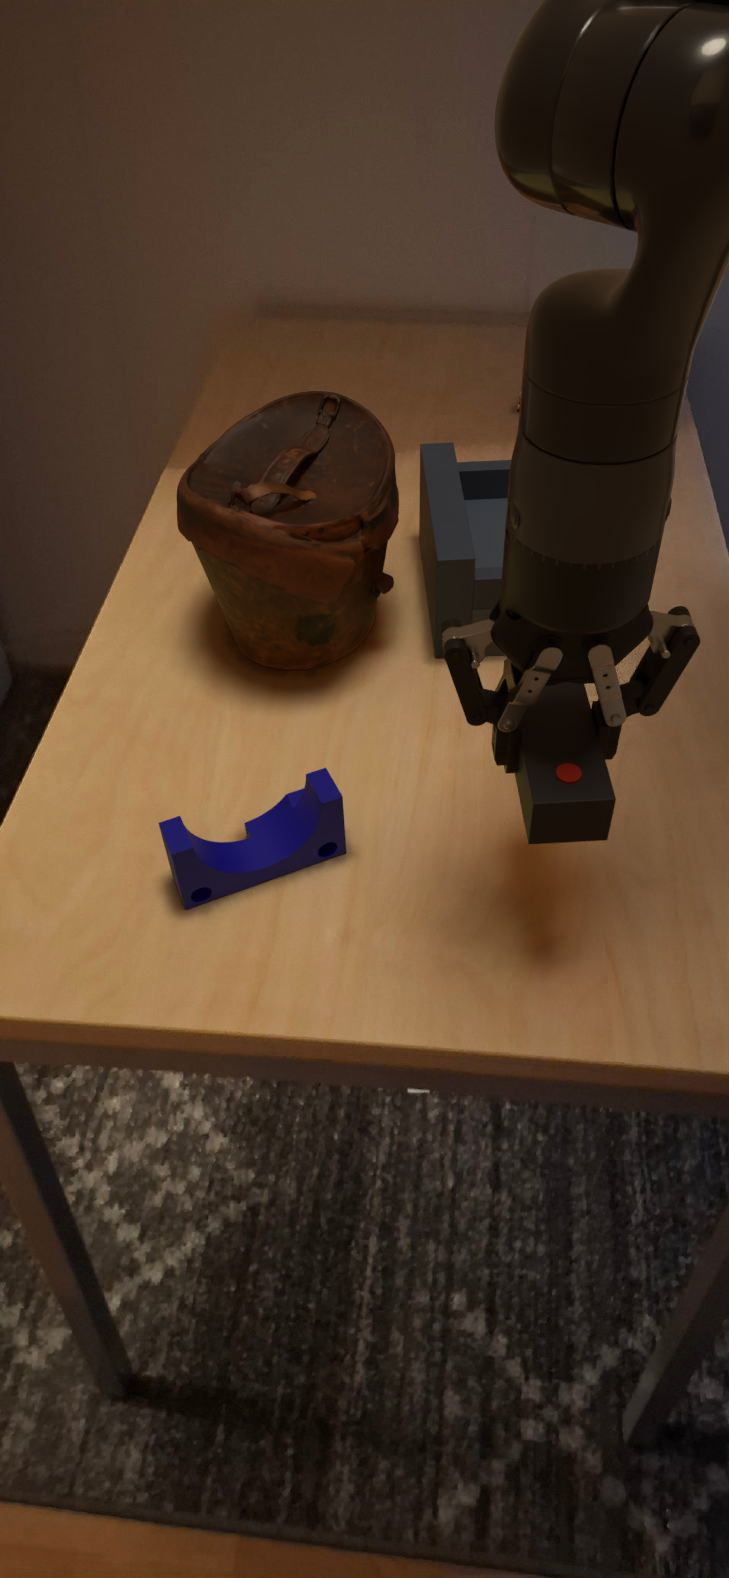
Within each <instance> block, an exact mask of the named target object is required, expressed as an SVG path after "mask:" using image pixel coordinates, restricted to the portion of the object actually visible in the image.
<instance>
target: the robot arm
mask: <svg viewBox="0 0 729 1578" xmlns="http://www.w3.org/2000/svg"><path fill="white" fill-rule="evenodd" d="M494 110H495V111H494V141H495V142H494V143H495V150H496V153H497V158H498V162H499V163H500V166H501V169H502V171H503V173H504V175H505V177H506V179H507V181H508V182H509V183H510V185H511V187H513V189H514V190H516V191H517V193H519V194H520V195H521V196H523V197H524V198H525V199H526V200H528V201H530V202H532V203H534V204H536V205H538V206H540V207H543V208H546V209H549V210H552V211H555V212H559V213H562V214H566V215H570V216H574V217H578V218H580V219H585V220H587V221H588V220H589V221H591V222H592V221H593V222H595V223H600V224H603V225H608V226H611V227H614V228H619V229H622V230H626V231H629V232H634V233H636V234H637V240H636V241H637V243H636V251H635V256H634V260H633V262H632V264H631V267H630V268H602V269H589V270H583V271H578V272H574V273H573V272H572V273H570V274H566V275H564V276H562V277H559V278H558V279H556V280H554V281H552V282H551V283H549V284H548V285H546V286H545V288H543V289H542V290H541V292H540V293H539V294H538V296H537V297H536V298H535V300H534V302H533V304H532V307H531V311H530V313H529V315H528V321H527V326H526V331H525V340H524V350H523V351H524V352H523V363H522V364H523V366H522V374H521V375H522V376H521V377H522V378H521V387H520V392H521V394H520V396H521V400H520V399H519V401H520V410H519V412H518V413H519V415H518V425H517V432H516V437H515V441H514V446H513V449H512V454H511V459H510V460H511V464H510V473H509V486H508V498H507V511H506V525H505V540H504V553H503V567H502V580H501V592H500V597H499V600H498V602H497V604H496V605H495V607H494V608H493V609H492V611H491V613H490V615H489V619H487V620H483V621H480V622H476V623H473V624H469V625H465V626H463V624H462V623H461V621H459V620H458V619H448V620H446V621H444V622H443V623H442V625H441V635H442V642H443V649H444V656H445V658H444V660H445V663H446V666H447V669H448V672H449V675H450V677H451V680H452V683H453V685H454V688H455V689H454V690H455V692H456V694H457V697H458V700H459V703H460V706H461V708H462V711H463V714H464V717H465V720H466V722H467V724H469V725H470V726H472V727H479V726H483V725H484V724H486V723H488V724H491V725H492V731H491V742H490V743H491V749H492V755H493V760H494V762H495V764H496V766H498V767H499V766H503V769H504V773H505V774H515V773H517V768H518V758H519V748H520V741H521V738H522V729H521V724H520V722H521V721H522V719H523V717H524V715H525V713H526V711H527V709H528V707H529V706H531V707H533V706H534V705H535V703H536V701H537V699H538V697H539V696H540V694H541V692H542V690H543V688H544V686H552V685H556V684H560V683H564V682H571V683H578V684H584V685H588V684H593V685H594V687H595V691H596V694H597V700H592V701H591V702H592V703H591V711H592V715H593V718H594V722H595V726H596V729H597V733H598V736H599V739H600V743H601V747H602V750H603V754H604V757H605V761H606V760H607V761H609V760H613V759H614V757H615V755H616V754H617V752H618V748H619V747H618V746H619V741H620V737H621V732H622V728H623V727H622V726H623V724H624V723H625V722H626V720H627V719H628V718H629V717H631V716H633V715H637V714H639V715H640V716H642V717H653V716H655V715H656V714H657V713H658V712H659V711H660V710H661V708H662V707H663V705H664V703H665V702H666V700H667V699H668V697H669V695H670V694H671V692H672V690H673V689H674V687H675V685H676V684H677V682H678V681H679V679H680V677H681V676H682V674H683V673H684V671H685V670H686V667H687V666H688V665H689V663H690V661H691V660H692V658H693V656H694V654H695V653H696V651H697V650H698V648H699V646H700V644H701V637H700V635H699V633H698V630H697V628H696V625H695V623H694V619H693V618H692V615H691V613H690V610H689V609H688V607H686V606H684V605H676V606H673V607H672V608H671V609H669V610H668V612H660V611H655V610H651V609H650V606H649V602H650V599H651V596H652V595H651V594H652V590H653V585H654V584H653V583H654V579H655V575H656V569H657V565H658V560H659V556H660V551H661V545H662V542H663V541H662V540H663V535H664V531H665V526H666V522H667V521H668V518H669V516H670V513H671V508H672V491H673V485H674V481H675V480H674V479H675V471H676V451H677V439H678V432H679V428H680V424H681V418H682V415H683V414H682V413H683V408H684V405H685V398H686V393H687V389H688V383H689V378H690V373H691V367H692V361H693V357H694V353H695V349H696V347H697V343H698V340H699V339H700V335H701V333H702V330H703V328H704V326H705V322H706V320H707V318H708V316H709V314H710V311H711V308H712V306H713V303H714V301H715V299H716V296H717V295H718V292H719V289H720V287H721V285H722V283H723V280H724V278H725V275H726V274H727V271H728V268H729V0H542V2H540V4H539V5H538V7H537V8H536V10H535V11H534V13H533V14H532V15H531V17H530V18H529V19H528V21H527V23H526V24H525V26H524V28H523V29H522V31H521V33H520V35H519V36H518V38H517V40H516V42H515V44H514V46H513V48H512V51H511V53H510V56H509V58H508V60H507V63H506V65H505V68H504V71H503V74H502V77H501V80H500V84H499V87H498V92H497V97H496V104H495V109H494ZM646 639H647V640H648V642H649V645H648V647H647V649H646V650H645V651H644V653H643V655H642V657H641V659H640V661H639V662H638V664H637V666H636V668H635V670H634V671H633V673H632V675H631V677H630V679H629V681H627V682H624V683H621V684H620V681H619V678H618V677H619V676H618V674H617V669H616V667H617V666H618V665H619V664H620V663H621V662H622V661H623V660H624V659H625V658H627V657H628V656H629V655H630V654H631V653H633V651H634V650H635V649H636V648H637V647H638V646H639V645H640V644H641V643H643V641H645V640H646ZM492 643H494V644H495V645H496V646H497V647H498V648H499V649H500V650H501V651H502V652H503V654H504V655H503V656H505V657H506V659H505V660H506V661H505V665H504V664H503V669H504V672H503V671H502V675H501V678H500V679H499V681H498V683H497V685H496V687H495V689H494V690H492V689H488V688H484V686H483V683H482V680H481V676H480V674H479V671H478V668H480V666H481V663H482V662H483V661H484V660H485V658H486V656H485V649H486V647H487V646H488V645H490V644H492Z"/></svg>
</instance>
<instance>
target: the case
mask: <svg viewBox="0 0 729 1578" xmlns="http://www.w3.org/2000/svg"><path fill="white" fill-rule="evenodd" d="M197 457H198V458H196V460H194V461H193V463H192V464H190V465H189V466H188V467H187V468H186V470H185V471H184V472H183V473H182V475H181V477H180V480H179V481H178V484H177V488H176V522H177V523H176V525H177V529H178V531H179V533H180V534H181V536H182V537H184V539H186V541H188V542H190V543H191V544H192V546H193V549H194V551H195V554H196V556H197V558H198V560H199V563H200V564H201V567H202V569H203V571H204V573H205V576H206V578H207V580H208V583H209V584H210V587H211V590H212V592H213V594H214V596H215V598H216V601H217V603H218V605H219V608H220V609H221V612H222V614H223V616H224V619H225V621H226V624H227V625H228V628H229V630H230V633H231V636H232V639H233V640H234V642H235V644H236V646H237V647H238V649H239V651H241V653H242V654H243V655H244V656H245V657H247V658H248V659H250V660H251V661H252V662H254V663H256V664H258V665H260V666H264V667H266V668H270V669H275V670H307V669H314V668H319V667H323V666H325V665H329V664H330V663H333V662H335V661H337V660H339V659H341V658H343V657H345V656H347V655H348V654H350V653H351V652H352V651H354V650H355V649H356V648H357V647H358V646H360V644H362V643H363V641H364V640H365V639H366V637H367V636H368V635H369V633H370V631H371V629H372V627H373V623H374V620H375V619H374V618H375V615H376V610H377V604H378V599H379V598H380V596H381V594H382V595H386V594H388V593H389V592H390V591H391V590H392V589H393V588H394V586H395V579H394V577H393V576H392V575H391V574H388V573H386V572H384V568H385V567H384V566H385V562H386V554H387V549H388V543H389V540H390V539H391V538H392V536H393V534H394V532H395V530H396V528H397V525H398V523H399V521H400V520H399V519H400V518H399V515H400V493H399V488H398V484H397V474H396V450H395V447H394V443H393V441H392V439H391V436H390V435H389V433H388V431H387V429H386V428H385V426H384V425H383V424H382V422H381V421H380V420H379V419H378V418H377V416H376V415H375V414H374V413H373V412H371V410H369V409H368V408H366V407H365V406H364V405H362V404H361V403H360V402H358V401H356V400H354V399H352V398H350V397H348V396H346V395H343V394H340V393H337V392H333V391H327V390H309V391H308V390H307V391H301V392H294V393H290V394H288V395H284V396H281V397H279V398H277V399H274V400H272V401H270V402H268V403H265V404H264V405H262V407H260V408H257V409H256V410H254V411H253V412H250V413H249V414H247V415H245V416H244V417H243V418H241V419H239V420H238V421H236V422H235V423H234V424H233V425H232V426H230V427H229V428H228V429H226V430H225V431H224V432H223V433H222V434H221V435H220V436H219V438H217V440H215V441H214V442H212V443H211V444H210V445H208V447H206V448H205V450H204V451H203V452H201V453H200V454H199V455H198V456H197Z"/></svg>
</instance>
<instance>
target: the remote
mask: <svg viewBox="0 0 729 1578" xmlns="http://www.w3.org/2000/svg"><path fill="white" fill-rule="evenodd" d="M505 661H506V659H504V661H503V666H504V665H505ZM502 670H503V671H502V673H503V672H504V668H503V669H502ZM591 708H592V706H591V704H590V699H589V695H588V692H587V689H586V684H578V683H571V682H564V683H560V684H556V685H552V686H544V688H543V690H542V692H541V694H540V696H539V697H538V699H537V701H536V703H535V705H534V706H533V707H531V706H529V707H528V709H527V711H526V713H525V715H524V717H523V719H522V721H521V722H520V724H521V729H522V738H521V741H520V748H519V758H518V768H517V773H514V777H515V782H516V787H517V793H518V798H519V803H520V809H521V814H522V819H523V824H524V829H525V835H526V839H527V844H528V845H546V844H549V845H550V844H565V843H584V842H585V843H586V842H600V841H602V842H603V841H608V839H609V834H610V830H611V825H612V822H613V821H612V820H613V817H614V811H615V806H616V802H617V798H616V794H615V790H614V786H613V783H612V779H611V776H610V772H609V769H608V765H607V761H606V760H605V757H604V754H603V750H602V747H601V743H600V739H599V736H598V733H597V729H596V726H595V722H594V718H593V715H592V711H591Z"/></svg>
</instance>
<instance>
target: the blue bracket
mask: <svg viewBox="0 0 729 1578" xmlns="http://www.w3.org/2000/svg"><path fill="white" fill-rule="evenodd" d="M158 827H159V832H160V834H161V838H162V842H163V846H164V849H165V853H166V857H167V861H168V863H169V864H168V865H169V868H170V872H171V876H172V880H173V882H174V884H175V887H176V889H177V892H178V895H179V897H180V899H181V903H182V905H183V907H184V909H185V911H187V910H189V909H193V908H195V907H198V906H201V905H204V904H207V903H209V902H212V901H215V900H218V899H220V898H223V897H226V896H229V895H232V894H234V893H237V892H240V891H243V890H246V889H249V888H252V887H255V886H258V885H260V884H262V883H265V882H268V881H272V880H274V879H276V878H277V879H278V878H279V877H282V876H286V875H288V874H291V873H294V872H297V871H299V870H303V869H305V868H308V867H311V866H313V865H316V864H319V863H323V862H324V861H328V860H330V859H334V858H336V857H340V856H341V855H344V854H347V842H346V841H347V840H346V828H345V827H346V826H345V812H344V797H343V794H342V793H341V791H340V790H339V787H338V786H337V784H336V782H335V780H334V779H333V777H332V776H331V773H330V772H329V771H328V769H327V767H323V768H320V769H318V770H314V771H311V772H308V773H305V784H304V787H303V788H301V789H298V790H295V791H292V792H288V793H286V794H285V795H284V796H283V797H282V798H281V799H280V800H279V801H278V802H277V803H276V804H275V805H274V806H273V807H271V808H270V809H269V810H267V811H265V812H264V813H263V814H261V815H259V816H257V817H255V818H253V819H250V820H248V821H246V822H244V829H245V830H244V831H245V835H246V838H244V839H240V840H235V841H214V840H208V839H205V838H202V837H200V836H197V835H195V834H194V833H193V832H191V831H190V830H189V829H188V828H187V826H185V824H184V821H183V819H182V816H181V815H178V816H175V817H172V818H169V819H166V820H163V821H159V822H158Z"/></svg>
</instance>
